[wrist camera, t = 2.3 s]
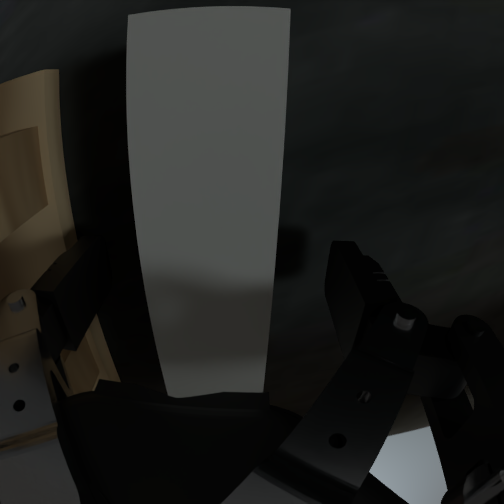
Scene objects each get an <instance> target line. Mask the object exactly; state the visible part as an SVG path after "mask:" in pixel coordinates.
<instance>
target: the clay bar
mask: <svg viewBox="0 0 504 504" xmlns="http://www.w3.org/2000/svg"><path fill="white" fill-rule="evenodd" d="M289 35H290V9H286V8H273V7H250V6H217V7H195V8H181V9H170V10H161V11H153V12H146V13H139V14H133V15H128V31H127V59H126V104H127V133H128V152H129V166H130V179H131V190H132V200H133V210H134V218H135V227H136V235H137V242H138V249H139V256H140V263H141V269H142V275H143V281H144V287H145V293H146V299H147V304H148V309H149V314H150V319H151V324H152V329H153V334H154V339H155V343H156V348H157V352H158V357H159V361H160V365H161V369H162V373H163V377H164V381H165V385H166V389H167V393H168V395H169V396H172V397H176V398H183V397H191V396H199V395H206V394H212V393H219V392H263V388H264V378H265V368H266V359H267V349H268V338H269V328H270V317H271V306H272V295H273V284H274V272H275V260H276V248H277V235H278V222H279V209H280V195H281V181H282V166H283V150H284V134H285V117H286V99H287V80H288V59H289Z"/></svg>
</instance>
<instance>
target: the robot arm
mask: <svg viewBox="0 0 504 504" xmlns="http://www.w3.org/2000/svg"><path fill="white" fill-rule="evenodd" d="M111 285H112V272H111V267H110V262H109V258H108V253H107V247H106V242H105V239H104V237H103V236H100V235H83V236H82V237H81V238H80V239H79V240H78V241H77V242H76V243H75V244H74V245H73V246H72V247H71V248H70V249H69V250H67V251H66V252H64V253H62V254H61V255H60V256H59V257H58V258H57V259H56V260H55V261H54V262H53V264H51V265H50V267H49V268H48V269H47V271H45V272H44V273H43V275H42V276H41V277H40V278H39V279H38V280H37V281H36V283H35V284H34V285H33V286H32V287H31V289H20V290H16V291H13V292H11V293H9V294H8V295H6V296H5V297H4V298H3V299H2V300H1V301H0V504H409V503H407V502H406V501H405V500H403V499H402V498H401V497H399V496H398V495H397V494H396V493H394V492H393V491H392V490H391V489H389V488H388V487H387V486H385V485H384V484H383V483H381V482H380V481H379V480H378V479H377V478H376V477H374V476H373V475H372V474H371V473H369V470H370V469H371V467H372V465H373V463H374V461H375V459H376V458H377V456H378V454H379V452H380V449H381V448H382V446H383V444H384V442H385V440H386V438H387V436H388V434H389V432H390V430H391V427H392V425H393V423H394V421H395V419H396V417H397V414H398V412H399V410H400V408H401V405H402V403H403V401H404V398H405V396H406V394H411V395H418V396H420V397H421V400H422V403H423V406H424V409H425V412H426V415H427V418H428V421H429V424H430V428H431V431H432V434H433V437H434V441H435V444H436V448H437V451H438V455H439V458H440V462H441V466H442V469H443V473H444V477H445V481H446V485H447V489H448V491H447V492H446V493H445V495H444V496H443V498H442V500H441V504H504V348H503V347H502V345H501V343H500V342H499V340H498V339H497V337H496V336H495V334H494V332H493V331H492V329H491V328H490V327H489V326H488V324H487V323H485V322H484V321H483V320H481V319H479V318H477V317H475V316H471V315H461V316H458V317H457V318H456V319H455V320H454V322H453V325H452V327H451V328H447V327H441V326H435V325H430V324H428V320H427V317H426V316H425V315H424V313H423V312H422V311H421V310H419V309H418V308H416V307H414V306H412V305H410V304H406V303H402V301H401V299H400V298H399V296H398V294H397V293H396V291H395V289H394V288H393V286H392V284H391V283H390V281H388V278H387V276H386V275H385V274H384V271H383V270H382V268H381V267H380V265H379V263H377V262H376V261H375V260H373V259H372V258H371V257H369V256H363V255H362V253H361V251H360V250H359V248H358V246H357V245H356V243H355V242H354V241H333V242H332V244H331V248H330V254H329V260H328V266H327V272H326V278H325V297H326V300H327V303H328V307H329V310H330V313H331V316H332V319H333V323H334V326H335V329H336V333H337V336H338V339H339V343H340V346H341V350H342V353H343V357H344V362H343V363H342V365H341V366H340V368H339V369H338V371H337V372H336V374H335V375H334V376H333V378H332V379H331V381H330V382H329V383H328V385H327V386H326V388H325V389H324V390H323V392H322V393H321V395H320V396H319V397H318V399H317V400H316V401H315V403H314V404H313V405H312V407H311V408H310V409H309V411H308V412H307V413H306V414H305V416H304V417H301V416H300V415H298V414H296V413H293V412H291V411H289V410H286V409H283V408H280V407H276V406H272V405H269V392H219V393H212V394H206V395H199V396H191V397H183V398H176V397H172V396H169V395H166V394H163V393H160V392H157V391H154V390H151V389H148V388H145V387H143V386H140V385H137V384H130V383H123V382H116V381H110V380H104V379H99V380H98V383H97V386H96V388H95V391H87V392H82V393H78V394H74V392H73V389H72V386H71V383H70V380H69V377H68V374H67V371H66V367H65V364H64V361H63V358H62V356H61V354H60V353H61V351H62V350H63V349H65V350H71V351H77V349H78V347H79V345H80V343H81V341H82V339H83V337H84V336H85V334H86V332H87V330H88V328H89V326H90V324H91V323H92V321H93V319H94V317H95V315H96V314H97V312H98V310H99V308H100V307H101V305H102V303H103V301H104V300H105V298H106V296H107V294H108V293H109V291H110V289H111ZM467 384H468V386H469V388H470V391H471V393H472V395H473V398H474V410H473V409H472V407H471V404H470V402H469V400H468V397H467V395H466V393H465V390H464V388H465V386H466V385H467Z"/></svg>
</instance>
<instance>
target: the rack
mask: <svg viewBox="0 0 504 504" xmlns="http://www.w3.org/2000/svg"><path fill="white" fill-rule="evenodd" d="M77 241H78V240H77V235H76V231H75V226H74V220H73V215H72V210H71V204H70V198H69V192H68V185H67V178H66V171H65V163H64V154H63V144H62V133H61V119H60V100H59V69H53V70H41V71H38V72H35V73H31V74H28V75H25V76H22V77H19V78H16V79H13V80H10V81H7V82H5V83H2V84H0V301H1V300H2V299H3V298H4V297H5V296H6V295H8V294H9V293H11V292H13V291H16V290H20V289H31V287H32V286H33V285H34V284H35V283H36V281H37V280H38V279H39V278H40V277H41V276H42V275H43V273H44V272H45V271H47V269H48V268H49V267H50V265H51V264H53V262H54V261H55V260H56V259H57V258H58V257H59V256H60V255H61V254H62V253H64V252H66V251H67V250H69V249H70V248H71V247H72V246H73V245H74V244H75V243H76V242H77ZM60 354H61V356H62V358H63V361H64V364H65V367H66V371H67V374H68V377H69V380H70V383H71V386H72V389H73V392H74V394H78V393H82V392H87V391H95V388H96V386H97V383H98V380H99V379H104V380H110V381H116V382H121V381H120V378H119V376H118V373H117V371H116V368H115V366H114V363H113V360H112V357H111V355H110V352H109V349H108V346H107V343H106V341H105V338H104V335H103V332H102V329H101V326H100V322H99V319H98V316H97V314H96V315H95V317H94V319H93V321H92V323H91V324H90V326H89V328H88V330H87V332H86V334H85V336H84V337H83V339H82V341H81V343H80V345H79V347H78V349H77V351H71V350H65V349H63V350H62V351H61V353H60Z"/></svg>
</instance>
